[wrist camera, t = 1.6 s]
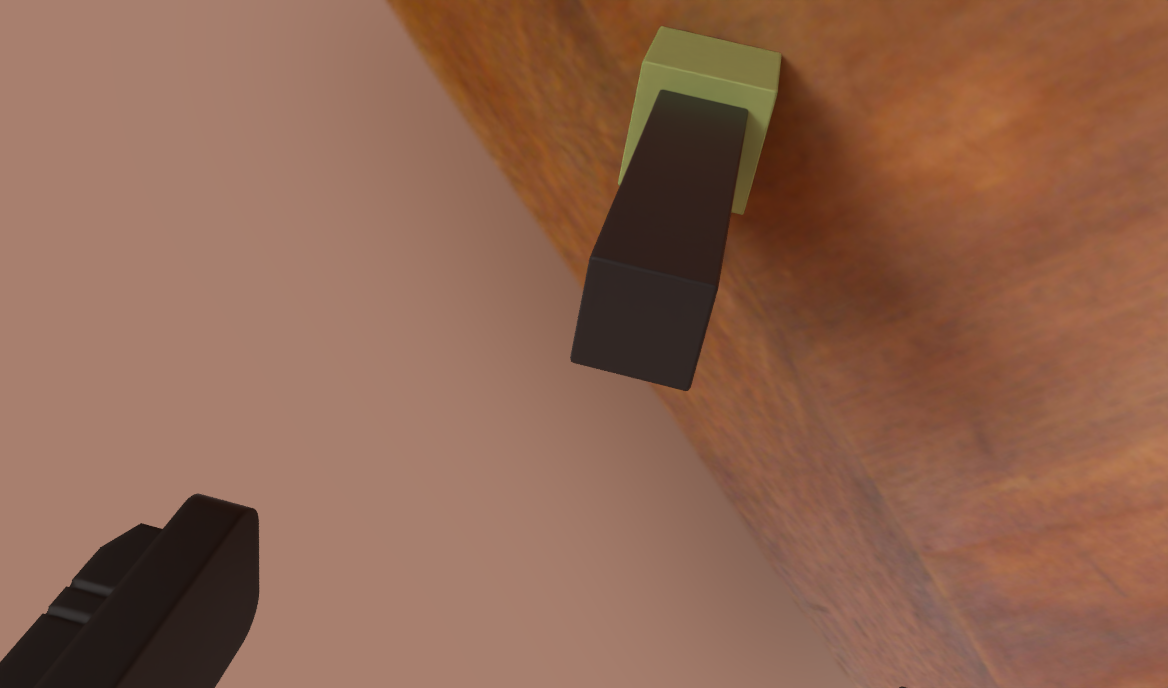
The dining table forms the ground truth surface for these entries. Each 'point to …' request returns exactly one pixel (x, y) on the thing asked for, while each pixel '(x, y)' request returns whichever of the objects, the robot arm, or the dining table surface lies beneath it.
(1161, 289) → the dining table surface
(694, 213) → the brush
